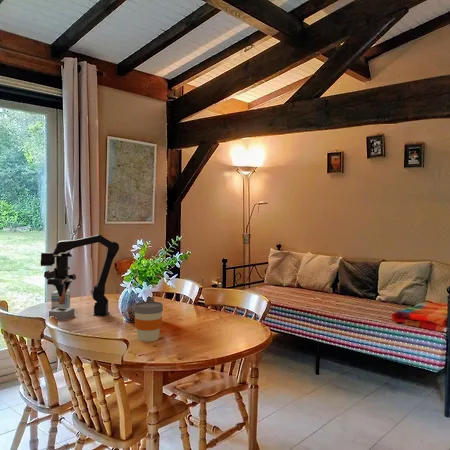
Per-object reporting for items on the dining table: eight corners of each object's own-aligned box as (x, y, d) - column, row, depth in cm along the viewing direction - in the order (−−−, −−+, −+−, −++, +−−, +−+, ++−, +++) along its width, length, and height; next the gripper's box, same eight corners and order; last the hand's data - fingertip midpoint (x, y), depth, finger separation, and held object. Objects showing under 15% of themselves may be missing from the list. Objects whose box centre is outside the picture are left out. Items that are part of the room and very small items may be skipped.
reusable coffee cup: (128, 337, 191) (129, 303, 191) (154, 332, 199) (154, 300, 198) (141, 344, 181) (142, 308, 181) (167, 339, 189) (168, 305, 188)
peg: (66, 303, 224) (66, 283, 224) (63, 304, 221) (63, 284, 221) (60, 302, 224) (60, 283, 224) (57, 304, 222) (57, 284, 221)
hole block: (74, 315, 227) (74, 308, 227) (65, 320, 218) (65, 312, 218) (58, 314, 228) (58, 307, 228) (48, 319, 219) (48, 311, 219)
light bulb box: (63, 312, 233) (63, 292, 232) (50, 312, 233) (50, 292, 232) (70, 308, 243) (70, 289, 243) (58, 308, 243) (58, 288, 243)
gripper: (56, 262, 232) (56, 291, 233) (37, 267, 214) (37, 298, 214) (76, 263, 231) (76, 292, 231) (58, 268, 212) (58, 299, 213)
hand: (62, 295), depth 223 cm, fingers closed on peg, 3 cm apart
